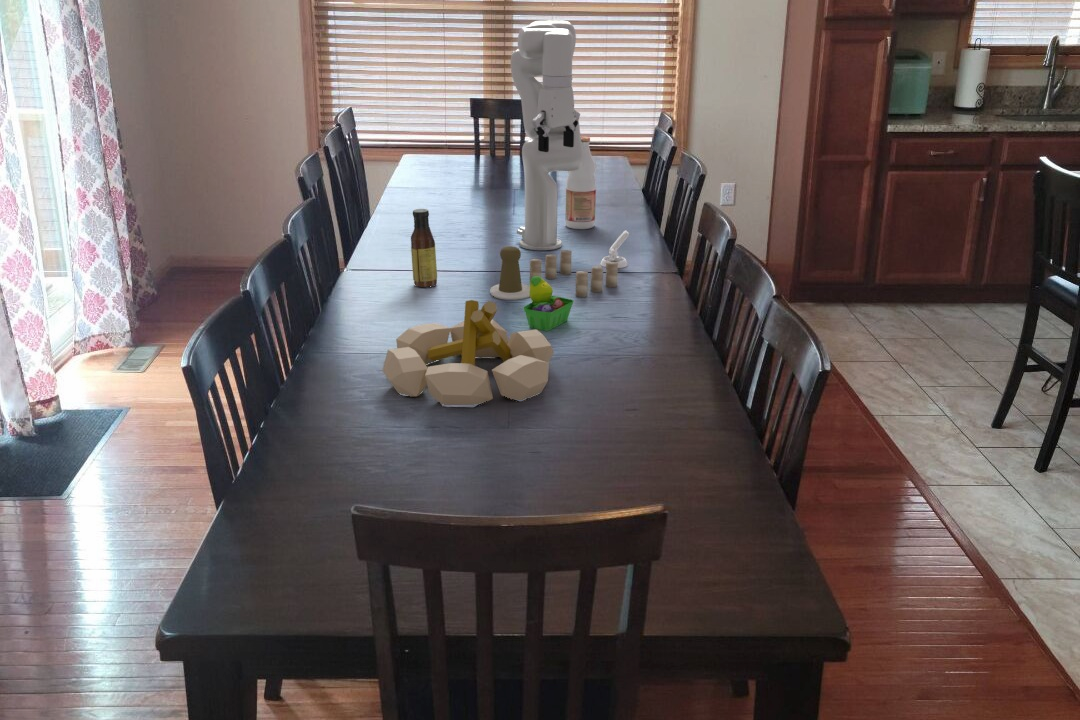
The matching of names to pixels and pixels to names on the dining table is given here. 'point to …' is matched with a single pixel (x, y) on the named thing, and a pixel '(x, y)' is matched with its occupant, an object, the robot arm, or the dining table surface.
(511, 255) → the cork
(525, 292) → the white round plate
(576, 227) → the fruit juice
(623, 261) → the white plastic lever piece
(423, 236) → the sauce bottle
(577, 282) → the posts
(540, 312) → the fruit basket
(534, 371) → the campfire
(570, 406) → the dining table surface
